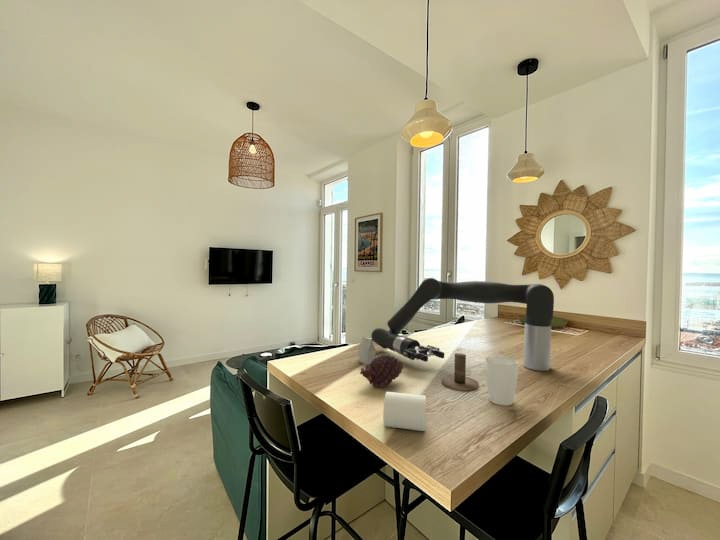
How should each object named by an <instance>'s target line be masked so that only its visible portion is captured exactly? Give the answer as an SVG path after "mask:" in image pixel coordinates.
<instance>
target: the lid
mask: <svg viewBox="0 0 720 540" xmlns="http://www.w3.org/2000/svg"><path fill="white" fill-rule="evenodd" d="M466 356H467V355H466V353H462V352H461V353H459V352H458V353H457V352H455V353H454V365H453V366H454V369H453V370H454V371H453V372H454V373H453V374H452V375H446V376H443V377H442V378H441V385H442V386H444V387H445V388H448V389H450V390H454V391H459V392H473V391H477V390H478V389H479V387H480V385H479V382H478V381H477V380H476V379H474V378H471V377H469V376H467V374H466V369H467V366H466V363H467V362H466V361H467V359H466V358H467V357H466Z"/></svg>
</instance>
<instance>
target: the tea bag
mask: <svg viewBox="0 0 720 540" xmlns="http://www.w3.org/2000/svg"><path fill="white" fill-rule="evenodd" d="M373 342H374V341H373V340H372V338H369V337H366V336H362V339H361V342H360V344H359V346H358V362H359V363H361V364H363V365H364V366H366V364H371V362H372V361H373V359H374V358H376V354H377V353H376V348H375V345H374V343H373Z"/></svg>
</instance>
